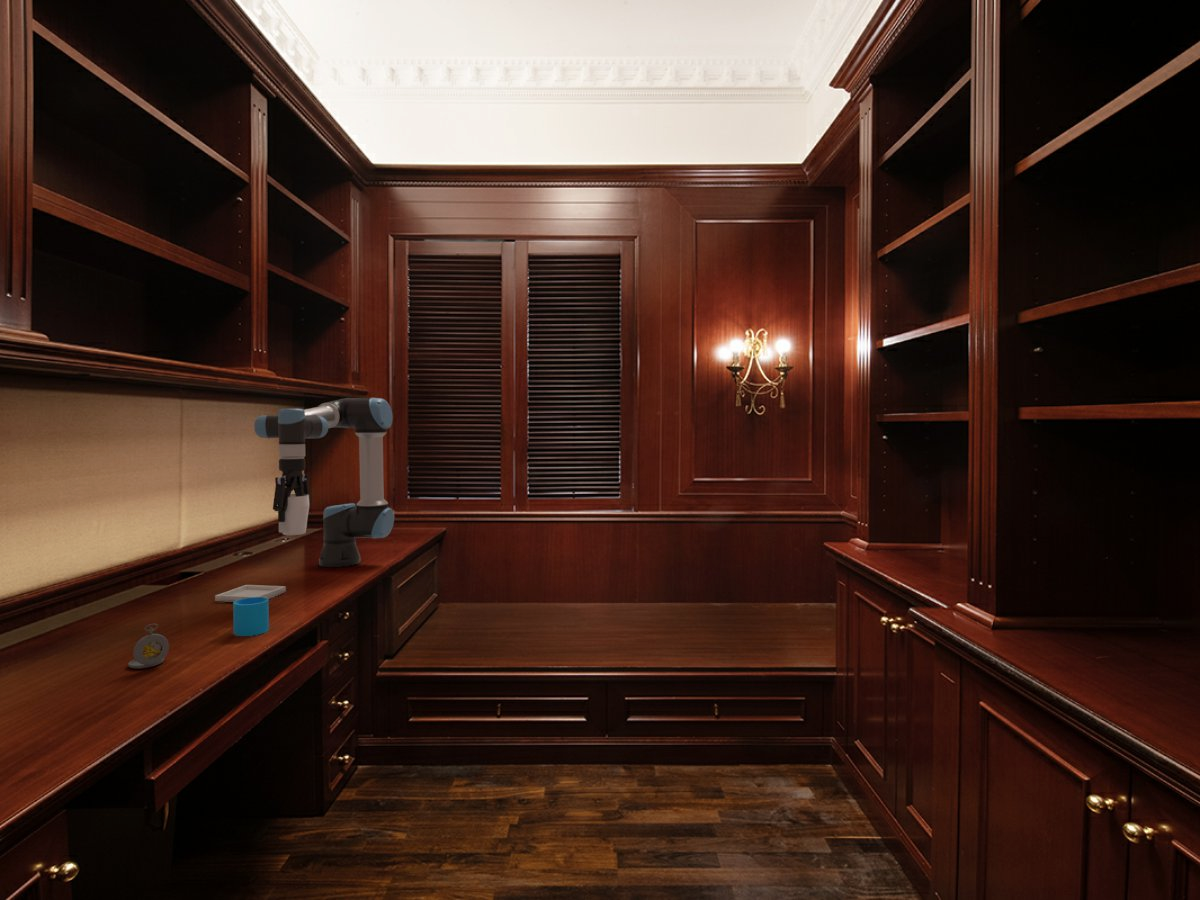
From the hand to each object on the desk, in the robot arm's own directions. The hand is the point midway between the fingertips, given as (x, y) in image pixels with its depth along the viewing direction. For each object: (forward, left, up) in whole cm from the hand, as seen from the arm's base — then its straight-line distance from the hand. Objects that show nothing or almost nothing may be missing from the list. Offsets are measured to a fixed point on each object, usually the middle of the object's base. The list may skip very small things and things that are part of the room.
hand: (293, 529), depth 206 cm
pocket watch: (+60, +4, -21) cm, 64 cm away
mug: (+32, +10, -22) cm, 40 cm away
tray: (+2, -13, -21) cm, 25 cm away
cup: (0, 0, -1) cm, 1 cm away
